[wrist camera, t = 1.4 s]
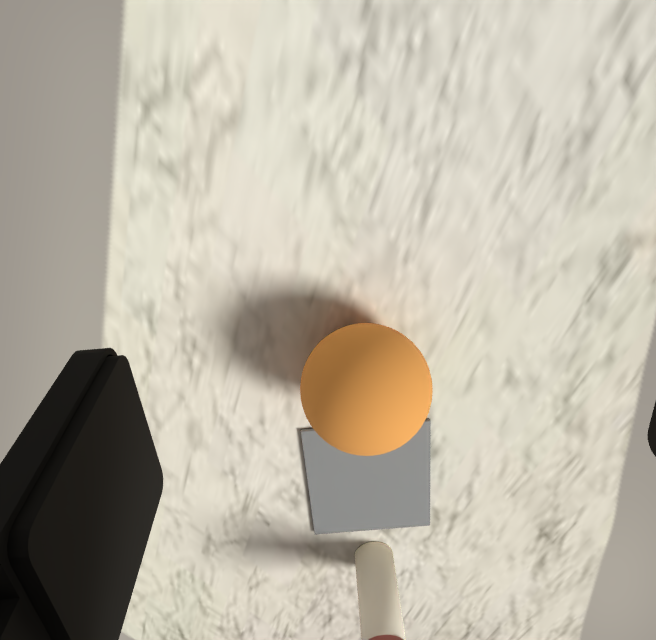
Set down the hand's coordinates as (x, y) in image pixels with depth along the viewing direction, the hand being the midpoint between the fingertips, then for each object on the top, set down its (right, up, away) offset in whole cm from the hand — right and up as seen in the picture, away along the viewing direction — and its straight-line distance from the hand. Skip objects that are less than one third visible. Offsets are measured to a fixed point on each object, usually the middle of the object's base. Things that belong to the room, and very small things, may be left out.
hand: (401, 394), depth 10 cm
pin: (+2, -14, +26) cm, 29 cm away
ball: (0, -2, +16) cm, 16 cm away
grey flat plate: (+1, -8, +23) cm, 24 cm away
